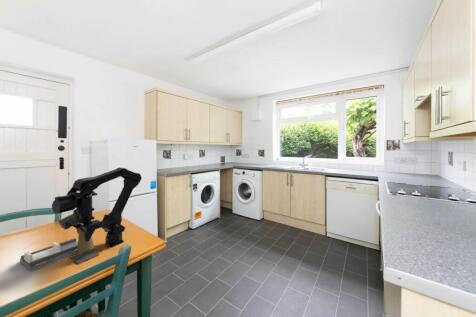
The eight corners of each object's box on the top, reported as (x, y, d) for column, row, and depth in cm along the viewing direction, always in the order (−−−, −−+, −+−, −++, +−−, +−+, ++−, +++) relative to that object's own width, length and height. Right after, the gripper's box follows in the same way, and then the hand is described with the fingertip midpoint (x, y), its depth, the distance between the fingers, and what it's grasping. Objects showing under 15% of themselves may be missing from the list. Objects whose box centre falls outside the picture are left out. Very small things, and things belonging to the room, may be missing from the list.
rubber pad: (90, 250, 92) (90, 249, 92) (99, 255, 88) (99, 254, 88) (69, 258, 84) (69, 257, 84) (78, 264, 81) (78, 263, 81)
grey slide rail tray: (74, 243, 98) (74, 237, 98) (86, 249, 92) (86, 243, 92) (20, 262, 81) (19, 255, 81) (30, 271, 75) (30, 264, 75)
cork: (97, 244, 90) (95, 222, 88) (87, 252, 83) (85, 228, 82) (84, 244, 89) (82, 222, 88) (73, 252, 83) (71, 228, 82)
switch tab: (54, 248, 89) (54, 241, 89) (61, 252, 86) (61, 245, 86) (23, 259, 80) (23, 251, 80) (30, 264, 77) (29, 256, 77)
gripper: (51, 208, 82) (52, 242, 83) (72, 216, 74) (72, 254, 74) (81, 201, 92) (82, 232, 93) (103, 208, 83) (103, 242, 84)
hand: (84, 240), depth 86 cm, fingers closed on cork, 4 cm apart
